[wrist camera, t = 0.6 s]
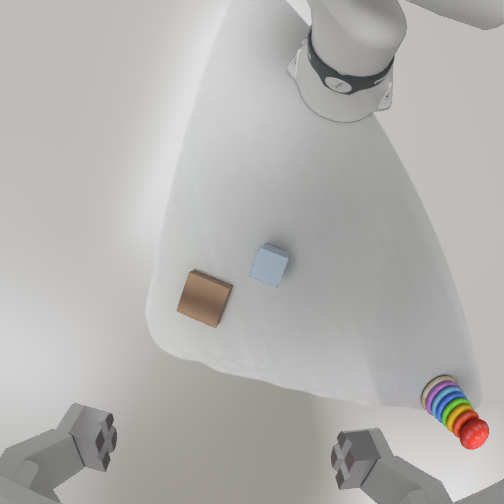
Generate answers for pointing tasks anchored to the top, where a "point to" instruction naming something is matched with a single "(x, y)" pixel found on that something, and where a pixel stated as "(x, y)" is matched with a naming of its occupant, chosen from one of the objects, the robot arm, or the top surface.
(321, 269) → the top surface
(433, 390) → the stacking toy
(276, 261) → the pillar
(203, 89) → the top surface
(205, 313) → the base block
